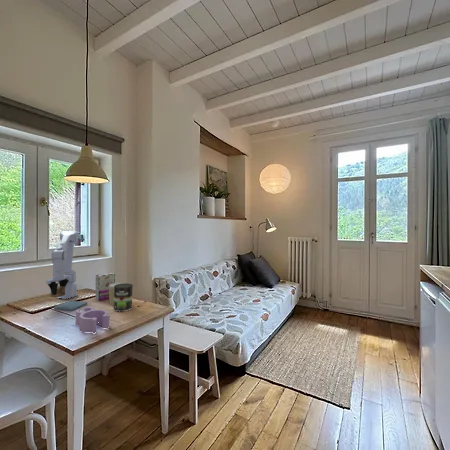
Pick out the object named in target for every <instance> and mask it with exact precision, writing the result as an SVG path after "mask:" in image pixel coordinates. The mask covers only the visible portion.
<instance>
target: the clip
mask: <svg viewBox="0 0 450 450" xmlns="http://www.w3.org/2000/svg"><path fill="white" fill-rule="evenodd" d="M110 317H111V315H110V314H109V311H108V310H105V309H96V308H95V307H94V306H93V307H92V306H85V307H84V311H81V309H80V308H78V309H76V310H75V326H77V325H78V326H77V327H79V328H78V329H79V330H80V331H82V332H93V333H95V332H96V333H97V326H98V325H97V323H98V322H99V323H102V324H101V325H102V328H108V327H109V328H110ZM102 328H101V329H102ZM80 331H79V332H80ZM82 332H81V333H82ZM93 333H92V334H93Z"/></svg>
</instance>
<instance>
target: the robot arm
mask: <svg viewBox="0 0 450 450" xmlns="http://www.w3.org/2000/svg"><path fill="white" fill-rule="evenodd" d="M59 232H60V233H59V240H60V242H58V244H57V246H56V248H55V249H54V250H52V251H51V263H52V277H51V278H50V279H47V280H46V281H45V284H46V285H47V286H48V287H49V289H50V293H51V292H52V295H56V293H57V286H63V287H65V295H63V296H61V297H56V299H59V298H62V299H61V300H69V299H71V297H72V298H74V297H77V296H78V293H77V292H78V291H77V290H78V288H77V287H78V286H77V283H76V281H77V272H76V271H75V270H74V269H72V268H73V257H74V247H75V245H77V244H78V242H79V232H78V230H77V231H74V230H73V231H71V230H70V231H68V230H67V231H65V230H61V231H59ZM66 298H67V299H66ZM68 298H69V299H68Z"/></svg>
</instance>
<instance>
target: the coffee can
mask: <svg viewBox="0 0 450 450" xmlns="http://www.w3.org/2000/svg"><path fill="white" fill-rule="evenodd" d="M133 287H134V285H133V284H131V283H127V282H126V283H123V284H117V285H115V286H114V306H113V312H116V311H119V312H118V313H121V312H120V311H125V312H127V311H126V310H129V309H131V308H132V309H133ZM132 309H131V310H132ZM129 311H130V310H129Z"/></svg>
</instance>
